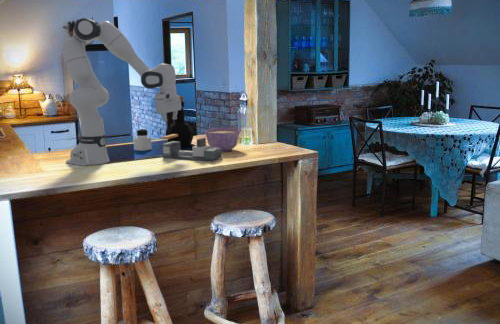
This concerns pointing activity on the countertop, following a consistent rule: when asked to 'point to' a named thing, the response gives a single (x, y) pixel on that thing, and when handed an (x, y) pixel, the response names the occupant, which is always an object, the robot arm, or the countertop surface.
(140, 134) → the medicine bottle
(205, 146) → the carriage
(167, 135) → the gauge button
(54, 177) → the countertop surface
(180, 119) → the bottle
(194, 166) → the countertop surface
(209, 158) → the rail
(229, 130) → the bowl of food
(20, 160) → the countertop surface
